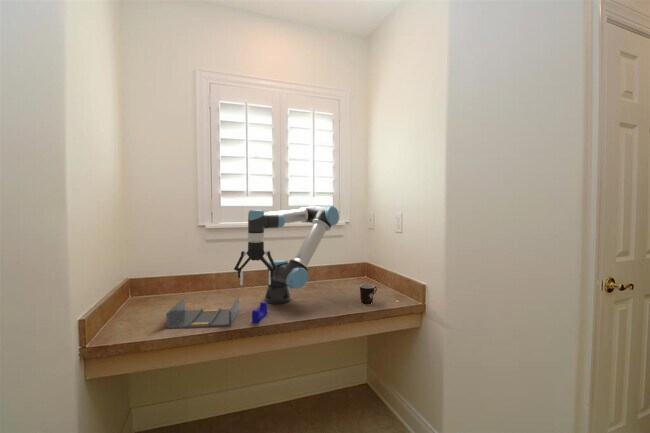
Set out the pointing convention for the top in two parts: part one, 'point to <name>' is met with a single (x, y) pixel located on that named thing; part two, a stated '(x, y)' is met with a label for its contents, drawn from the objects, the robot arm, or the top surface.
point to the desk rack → (201, 316)
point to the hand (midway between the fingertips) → (255, 284)
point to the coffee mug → (367, 293)
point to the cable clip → (259, 312)
